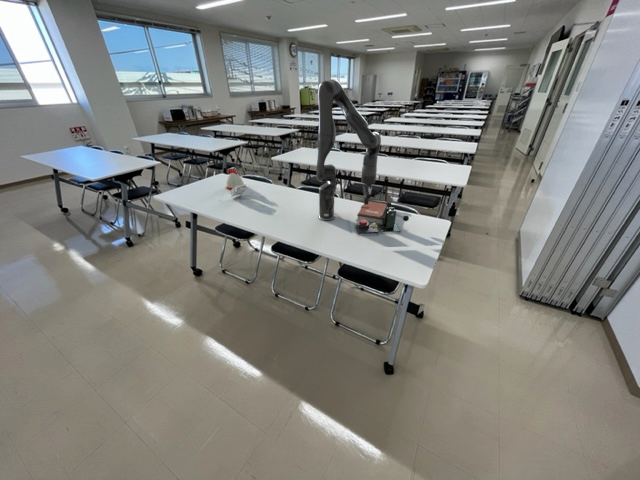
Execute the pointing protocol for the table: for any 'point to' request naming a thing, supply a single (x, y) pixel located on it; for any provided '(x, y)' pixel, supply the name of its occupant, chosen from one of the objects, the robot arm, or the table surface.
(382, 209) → the book
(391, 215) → the switch bracket
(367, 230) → the emergency stop panel
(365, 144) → the robot arm
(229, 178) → the kitchen timer
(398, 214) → the switch lever
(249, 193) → the table surface
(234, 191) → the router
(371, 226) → the lamp lens
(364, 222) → the button
